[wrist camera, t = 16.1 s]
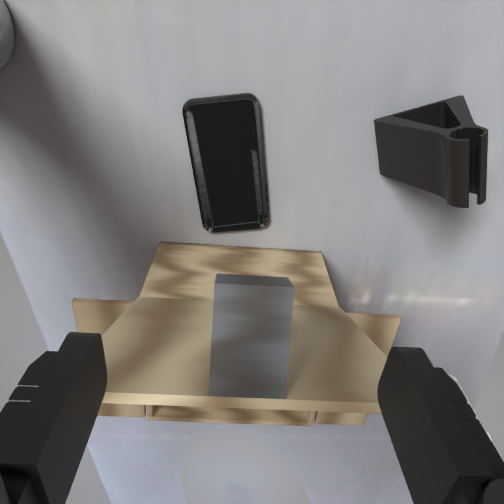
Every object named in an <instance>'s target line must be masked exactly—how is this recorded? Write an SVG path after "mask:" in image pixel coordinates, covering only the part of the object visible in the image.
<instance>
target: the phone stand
mask: <svg viewBox="0 0 504 504" xmlns="http://www.w3.org/2000/svg"><path fill="white" fill-rule="evenodd" d="M374 124H375V133H376V142H377V150H378V159H379V168H380V174H383V175H385V176H388V177H391V178H393V179H396V180H399V181H401V182H404V183H407V184H409V185H412V186H415V187H418V188H420V189H423V190H426V191H428V192H431V193H434V194H436V195H439V196H441V197H443V198H444V199H445V200H446V201H447V203H448V204H449V205H451V206H454V207H459V208H469V193H470V192H471V193H474V194H477V204H479V205H481V204H482V203H484V202H485V200H486V180H487V149H488V130H487V129H486V128H484V127H480V126H478V125H476V124H475V123H474V121H473V119H472V116H471V114H470V111H469V109H468V106H467V104H466V101H465V99H464V96H457V97H453V98H450V99H446V100H442V101H439V102H435V103H432V104H428V105H425V106H421V107H419V108H414V109H410V110H407V111H403V112H399V113H396V114H392V115H389V116H385V117H382V118H378V119H375V120H374Z"/></svg>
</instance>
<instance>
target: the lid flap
mask: <svg viewBox="0 0 504 504" xmlns="http://www.w3.org/2000/svg"><path fill="white" fill-rule="evenodd" d="M294 289H295V287H294V286H293V284H292V283H291V281H290V280H289V278H288V277H274V276H256V275H239V274H221V273H217V274H216V278H215V283H214V301H210V300H191V299H173V298H154V297H137V298H136V299H135V300H134V301H133V303H132V304H131V305H130V306H129V307H128V308H127V309H126V310H125V311H124V312H123V313H122V314H121V316H120V317H119V318H118V319H117V320H116V321H115V322H114V323H113V324H112V325H111V326H110V327H109V329H108V330H107V331H106V332H105V333H104V334H103V335H102V336H101V337H102V342H103V348H104V354H105V361H106V367H107V386H106V391H105V395H104V398H103V401H102V403H114V404H140V405H166V406H192V407H218V408H245V409H271V410H297V411H323V412H349V413H375V414H382V412H381V410H380V407H379V403H378V397H377V388H378V383H379V380H380V377H381V374H382V371H383V368H384V366H385V363H386V360H387V356H386V355H385V354H384V353H383V352H382V351H381V350H380V349H379V348H378V347H377V346H376V345H375V344H374V343H373V341H372V340H371V339H370V338H369V337H368V336H367V335H366V334H365V333H364V332H363V331H362V330H361V329H360V327H359V326H358V325H357V324H356V323H355V322H354V321H353V320H352V319H351V318H350V317H349V316H348V315H347V314H346V312H345V311H344V310H343V309H342V308H341V307H323V306H304V305H293V301H294Z"/></svg>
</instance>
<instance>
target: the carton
mask: <svg viewBox="0 0 504 504" xmlns="http://www.w3.org/2000/svg"><path fill="white" fill-rule="evenodd" d="M217 273H221V274H239V275H256V276H274V277H288V278H289V280H290V281H291V283H292V284H293V286H294V287H295V289H294V301H293V305H304V306H323V307H339V305H338V302H337V299H336V296H335V293H334V290H333V287H332V284H331V281H330V278H329V275H328V272H327V269H326V265H325V262H324V259H323V256H322V253H321V251H305V250H288V249H272V248H256V247H239V246H223V245H207V244H190V243H174V242H160V243H159V245H158V248H157V251H156V253H155V256H154V258H153V261H152V264H151V266H150V269H149V272H148V274H147V277H146V280H145V282H144V285H143V287H142V290H141V293H140V295H139V297H154V298H173V299H191V300H210V301H214V283H215V278H216V274H217ZM132 303H133V301H118V300H99V299H80V298H74V299H73V300H72V308H73V313H74V318H75V323H76V328H77V332H84V333H100V334H101V336H102V335H103V334H104V333H105V332H106V331H107V330H108V329H109V327H110V326H111V325H112V324H113V323H114V322H115V321H116V320H117V319H118V318H119V317H120V316H121V314H122V313H123V312H124V311H125V310H126V309H127V308H128V307H129V306H130V305H131V304H132ZM346 314H347V315H348V316H349V317H350V318H351V319H352V320H353V321H354V322H355V323H356V324H357V325H358V326H359V327H360V329H361V330H362V331H363V332H364V333H365V334H366V335H367V336H368V337H369V338H370V339H371V340H372V341H373V343H374V344H375V345H376V346H377V347H378V348H379V349H380V350H381V351H382V352H383V353H384V354H385V355H386V356H387V357H388V354H389V352H390V349H391V346H392V344H393V341H394V338H395V335H396V332H397V330H398V327H399V324H400V321H401V318H400V316H399V315H384V314H365V313H346ZM146 407H147V419H148V420H157V421H185V422H213V423H241V424H268V425H296V426H312V425H313V421H314V417H315V424H340V425H364V422H365V419H366V417H367V414H368V413H349V412H323V411H297V410H271V409H245V408H218V407H192V406H166V405H146ZM315 413H316V415H315ZM145 415H146V408H145V405H140V404H114V403H101V406H100V409H99V412H98V414H97V416H121V417H145Z"/></svg>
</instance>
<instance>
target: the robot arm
mask: <svg viewBox="0 0 504 504" xmlns="http://www.w3.org/2000/svg"><path fill="white" fill-rule="evenodd" d="M14 40H15V36H14V26H13V22H12V19H11V16H10V13H9V11H8V8H7V6H6V4H5V2H4V0H0V69H1V68H3V67H4V66H5V65H6V63H7V62H8V61H9V59H10V57H11V55H12V52H13V49H14ZM106 386H107V367H106V361H105V354H104V348H103V342H102V337H101V334H100V333H84V332H70V333H68V335H67V336H66V338H65V339H64V341H63V343H62V345H61V347H60V349H59V350H58V352H55V351H46V352H45V353H44V354H42V355H41V356H40V357H39V358H38V359H37V360H36V361H34V362H33V363H32V364H31V365H30V366H29V367H28V368H27V370H26V372H25V373H24V375H23V376H22V378H21V380H20V381H19V383H18V387H17V388H15V390H14V391H13V393H12V394H11V396H10V398H9V402H8V403H6V404H5V406H4V408H3V409H2V411H1V412H0V504H65V502H66V500H67V497H68V494H69V492H70V489H71V486H72V483H73V481H74V478H75V475H76V472H77V469H78V467H79V464H80V461H81V459H82V456H83V453H84V450H85V447H86V445H87V442H88V439H89V437H90V434H91V431H92V428H93V425H94V423H95V420H96V417H97V414H98V412H99V409H100V406H101V403H102V401H103V398H104V395H105V391H106ZM377 397H378V403H379V407H380V410H381V412H382V415H383V418H384V421H385V424H386V427H387V429H388V432H389V435H390V438H391V441H392V443H393V446H394V449H395V452H396V455H397V458H398V460H399V463H400V466H401V469H402V472H403V475H404V477H405V480H406V483H407V486H408V489H409V491H410V494H411V497H412V500H413V503H414V504H504V462H503V460H502V459H501V457H500V455H499V454H498V452H497V450H496V448H495V447H494V445H493V443H492V442H491V440H490V438H489V437H488V435H487V433H486V431H485V430H484V428H483V426H482V425H481V423H480V421H479V420H478V419H476V414H475V413H474V411H473V409H472V408H471V406H470V404H468V403H467V399H466V397H465V396H464V394H463V392H462V391H461V389H460V387H459V386H458V384H457V383H456V382H455V381H454V380H453V379H452V378H451V377H450V376H449V375H448V374H447V373H446V372H445V371H444V370H443V369H442V368H433V366H432V364H431V362H430V360H429V358H428V357H427V355H426V353H425V351H424V350H423V349H421V348H413V347H392V348H391V350H390V352H389V354H388V357H387V360H386V363H385V366H384V368H383V371H382V374H381V377H380V380H379V383H378V388H377Z"/></svg>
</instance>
